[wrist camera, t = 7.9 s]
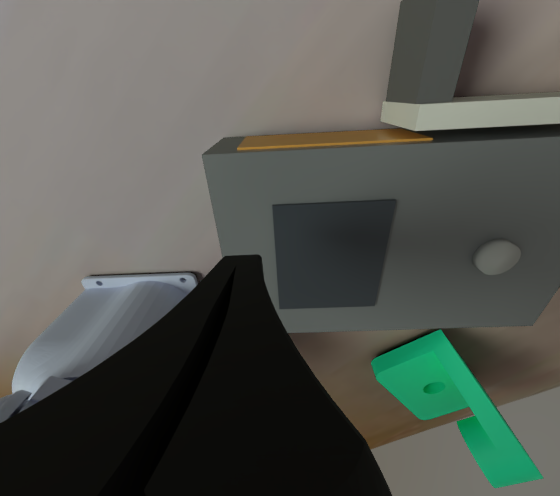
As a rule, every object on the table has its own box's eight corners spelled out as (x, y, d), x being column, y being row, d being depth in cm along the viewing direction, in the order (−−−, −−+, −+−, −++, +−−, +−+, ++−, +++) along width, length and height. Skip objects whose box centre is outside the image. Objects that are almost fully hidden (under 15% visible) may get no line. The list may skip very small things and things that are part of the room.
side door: (380, 121, 15) (414, 131, 11) (397, 4, 12) (450, -36, 8) (557, 111, 14) (654, 118, 11) (613, -10, 12) (770, -58, 8)
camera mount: (364, 351, 27) (404, 478, 18) (434, 320, 24) (521, 449, 15) (412, 398, 32) (462, 515, 23) (474, 376, 29) (558, 498, 20)
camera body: (246, 287, 22) (236, 341, 17) (223, 136, 15) (197, 155, 11) (506, 278, 21) (571, 331, 16) (593, 116, 15) (741, 127, 10)
